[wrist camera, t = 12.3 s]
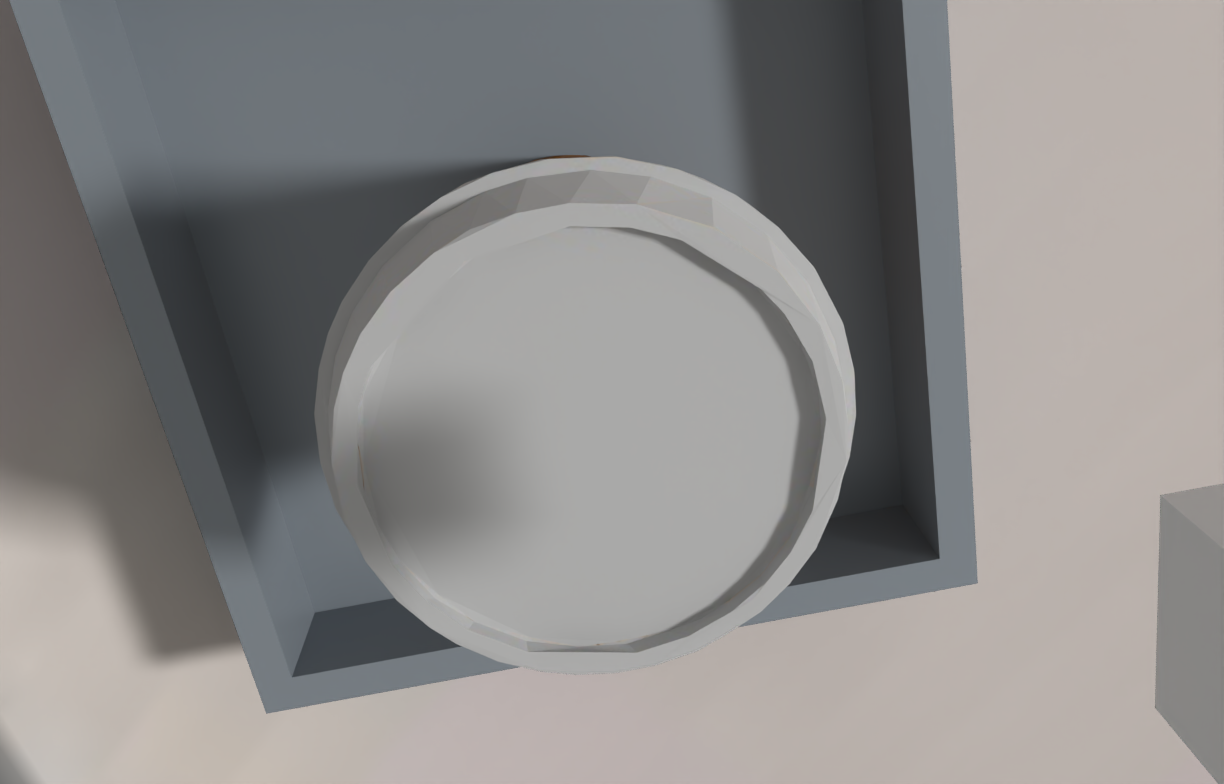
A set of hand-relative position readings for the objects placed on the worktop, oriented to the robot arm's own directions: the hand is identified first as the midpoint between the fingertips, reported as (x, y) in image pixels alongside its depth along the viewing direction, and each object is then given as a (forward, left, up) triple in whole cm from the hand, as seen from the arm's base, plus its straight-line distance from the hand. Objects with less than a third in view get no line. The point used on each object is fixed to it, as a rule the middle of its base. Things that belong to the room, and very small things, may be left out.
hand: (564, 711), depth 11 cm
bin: (0, 0, -19) cm, 19 cm away
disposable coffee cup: (0, 0, -19) cm, 19 cm away
